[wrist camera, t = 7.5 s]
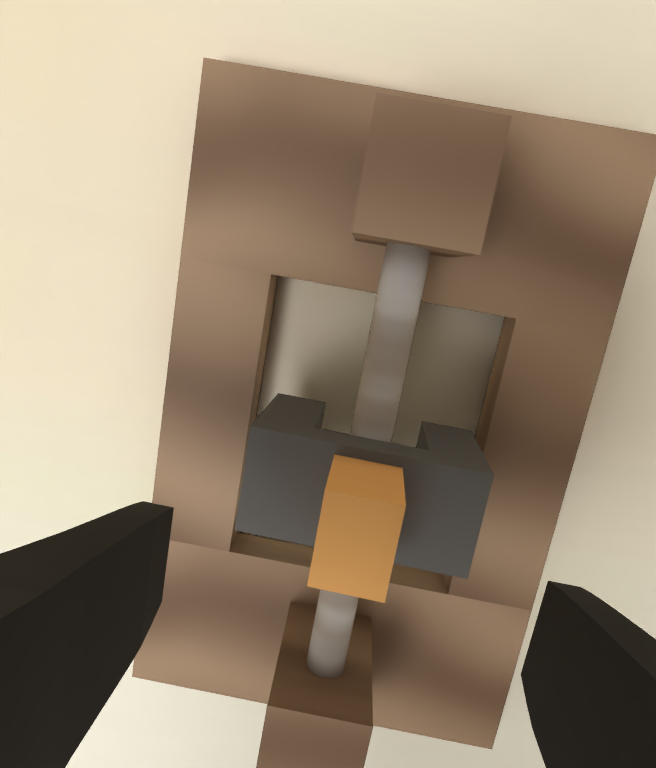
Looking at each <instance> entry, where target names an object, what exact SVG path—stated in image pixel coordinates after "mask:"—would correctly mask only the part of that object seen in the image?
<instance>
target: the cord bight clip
mask: <svg viewBox="0 0 656 768" xmlns="http://www.w3.org/2000/svg"><path fill="white" fill-rule="evenodd" d="M325 404H326V403H325V402H320V401H315V400H310V399H305V398H300V397H295V396H290V395H284V394H279V393H278V394H277V395H276V397H275V398H274V399H273V400H272V401H271V403H270V404H269V405H268V406H267V407H266V408H265V410H264V411H263V412H262V413H261V414H260V416H259V417H258V418H257V419H256V420H255V421H254V423H253V424H252V425H251V426H250V432H249V438H248V445H247V451H246V458H245V465H244V471H243V478H242V485H241V491H240V498H239V504H238V511H237V518H236V524H235V530H236V531H241V532H246V533H251V534H255V535H260V536H265V537H269V538H274V539H279V540H284V541H288V542H293V543H298V544H303V545H307V546H312V547H314V551H313V556H312V562H311V567H310V572H309V578H308V583H307V586H308V587H313V588H317V589H322V590H326V591H331V592H336V593H340V594H345V595H350V596H354V597H359V598H364V599H368V600H373V601H378V602H382V603H385V599H386V595H387V590H388V586H389V581H390V577H391V572H392V568H393V564H398V565H402V566H407V567H412V568H416V569H421V570H426V571H431V572H435V573H440V574H445V575H450V576H454V577H459V578H464V579H468V576H469V572H470V568H471V564H472V560H473V556H474V552H475V548H476V545H477V541H478V537H479V533H480V529H481V525H482V521H483V517H484V513H485V509H486V505H487V501H488V497H489V493H490V489H491V485H492V482H493V478H494V474H493V472H492V470H491V468H490V466H489V464H488V462H487V460H486V458H485V457H484V455H483V453H482V451H481V449H480V447H479V445H478V443H477V441H476V439H475V438H474V436H473V434H472V432H471V431H469V430H464V429H459V428H454V427H448V426H443V425H438V424H433V423H428V422H423V421H422V424H421V429H420V433H419V438H418V442H417V447H416V448H415V447H410V446H405V445H400V444H395V443H390V442H385V441H380V440H375V439H369V438H364V437H359V436H354V435H349V434H344V433H339V432H334V431H329V430H324V429H321V426H322V421H323V415H324V410H325Z"/></svg>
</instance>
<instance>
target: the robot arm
mask: <svg viewBox="0 0 656 768" xmlns="http://www.w3.org/2000/svg"><path fill="white" fill-rule="evenodd" d="M173 511H174V507H169V506H164V505H159V504H154V503H149V502H144V501H143V502H139V503H135V504H132V505H129V506H127V507H124V508H121V509H119V510H116V511H114V512H111V513H109V514H106V515H104V516H101V517H99V518H97V519H94V520H91V521H89V522H86V523H84V524H81V525H79V526H76V527H74V528H71V529H69V530H66V531H64V532H61V533H59V534H56V535H53V536H50V537H47V538H44V539H41V540H39V541H36V542H33V543H30V544H27V545H24V546H22V547H19V548H16V549H13V550H10V551H7V552H4V553H1V554H0V768H65V767H66V765H67V763H68V762H69V760H70V758H71V757H72V755H73V754H74V752H75V750H76V749H77V747H78V746H79V744H80V743H81V741H82V740H83V738H84V736H85V735H86V733H87V732H88V730H89V729H90V727H91V725H92V724H93V722H94V721H95V719H96V718H97V716H98V714H99V713H100V711H101V710H102V708H103V707H104V705H105V704H106V702H107V700H108V699H109V697H110V696H111V694H112V693H113V691H114V689H115V688H116V686H117V685H118V683H119V682H120V680H121V678H122V677H123V675H124V674H125V672H126V670H127V669H128V667H129V666H130V664H131V662H132V661H133V659H134V658H135V656H136V654H137V653H138V651H139V649H140V648H141V646H142V644H143V641H144V639H145V637H146V635H147V633H148V631H149V629H150V627H151V625H152V623H153V620H154V618H155V616H156V614H157V612H158V609H159V607H160V605H161V603H162V597H163V589H164V581H165V573H166V565H167V558H168V550H169V542H170V534H171V526H172V519H173ZM521 677H522V682H523V687H524V692H525V697H526V703H527V707H528V711H529V716H530V720H531V724H532V728H533V731H534V734H535V737H536V740H537V743H538V746H539V749H540V752H541V755H542V758H543V760H544V763H545V766H546V768H656V639H654V638H653V637H652V636H650V635H649V634H648V633H646V632H645V631H644V630H642V629H641V628H640V627H638V626H637V625H636V624H634V623H633V622H631V621H630V620H629V619H627V618H626V617H625V616H623V615H622V614H621V613H619V612H618V611H617V610H615V609H614V608H612V607H611V606H610V605H608V604H607V603H605V602H604V601H602V600H601V599H599V598H598V597H596V596H595V595H593V594H592V593H590V592H588V591H587V590H585V589H583V588H581V587H577V586H572V585H567V584H562V583H557V582H552V581H548V583H547V586H546V590H545V593H544V597H543V600H542V603H541V607H540V610H539V614H538V617H537V621H536V624H535V627H534V631H533V634H532V638H531V641H530V645H529V648H528V651H527V655H526V658H525V662H524V665H523V669H522V672H521Z"/></svg>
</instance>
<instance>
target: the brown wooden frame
mask: <svg viewBox="0 0 656 768" xmlns="http://www.w3.org/2000/svg"><path fill="white" fill-rule="evenodd" d="M655 176H656V135H655V134H649V133H643V132H637V131H631V130H626V129H620V128H614V127H608V126H602V125H596V124H590V123H585V122H579V121H573V120H567V119H561V118H555V117H549V116H543V115H538V114H532V113H526V112H520V111H514V110H508V109H502V108H497V107H491V106H485V105H479V104H473V103H467V102H461V101H455V100H450V99H444V98H438V97H432V96H426V95H420V94H414V93H409V92H403V91H397V90H391V89H385V88H379V87H373V86H367V85H362V84H356V83H350V82H344V81H338V80H332V79H326V78H321V77H315V76H309V75H303V74H297V73H291V72H285V71H279V70H274V69H268V68H262V67H256V66H250V65H244V64H238V63H233V62H227V61H221V60H215V59H209V58H204V59H203V67H202V76H201V85H200V93H199V102H198V111H197V119H196V128H195V137H194V145H193V154H192V163H191V171H190V180H189V189H188V197H187V206H186V215H185V223H184V232H183V241H182V249H181V258H180V267H179V275H178V284H177V293H176V301H175V310H174V319H173V327H172V336H171V345H170V353H169V362H168V371H167V379H166V388H165V397H164V405H163V414H162V423H161V431H160V440H159V449H158V457H157V466H156V475H155V483H154V492H153V501H152V503H154V504H159V505H164V506H169V507H174V511H173V519H172V526H171V534H170V542H169V550H168V558H167V565H166V573H165V581H164V589H163V597H162V603H161V605H160V607H159V609H158V612H157V614H156V616H155V618H154V620H153V623H152V625H151V627H150V629H149V631H148V633H147V635H146V637H145V639H144V641H143V644H142V646H141V648H140V649H139V651H138V653H137V654H136V656H135V658H134V665H133V674H132V677H137V678H142V679H147V680H152V681H157V682H161V683H166V684H171V685H176V686H181V687H186V688H191V689H196V690H201V691H206V692H211V693H216V694H221V695H226V696H231V697H236V698H241V699H246V700H251V701H255V702H260V703H265V704H268V705H267V710H266V716H265V721H264V727H263V732H262V738H261V744H260V749H259V755H258V761H257V766H256V768H364V764H365V759H366V755H367V751H368V746H369V742H370V737H371V733H372V729H373V725H374V726H379V727H384V728H389V729H394V730H399V731H404V732H409V733H414V734H419V735H424V736H429V737H434V738H439V739H444V740H448V741H453V742H458V743H463V744H468V745H473V746H478V747H483V748H488V749H492V747H493V744H494V740H495V737H496V733H497V730H498V726H499V723H500V719H501V716H502V712H503V709H504V705H505V702H506V698H507V695H508V691H509V688H510V684H511V681H512V677H513V674H514V670H515V667H516V663H517V660H518V656H519V652H520V649H521V645H522V642H523V638H524V635H525V631H526V628H527V624H528V621H529V617H530V614H531V610H532V607H533V603H534V600H535V596H536V593H537V589H538V586H539V582H540V579H541V575H542V572H543V568H544V565H545V561H546V558H547V554H548V551H549V547H550V544H551V540H552V537H553V533H554V530H555V526H556V523H557V519H558V516H559V512H560V509H561V505H562V502H563V498H564V495H565V491H566V488H567V484H568V481H569V477H570V474H571V470H572V467H573V463H574V460H575V456H576V453H577V449H578V446H579V442H580V439H581V435H582V432H583V428H584V425H585V421H586V418H587V414H588V410H589V407H590V403H591V400H592V396H593V393H594V389H595V386H596V382H597V379H598V375H599V372H600V368H601V365H602V361H603V358H604V354H605V351H606V347H607V344H608V340H609V337H610V333H611V330H612V326H613V323H614V319H615V316H616V312H617V309H618V305H619V302H620V298H621V295H622V291H623V288H624V284H625V281H626V277H627V274H628V270H629V267H630V263H631V260H632V256H633V253H634V249H635V246H636V242H637V239H638V235H639V232H640V228H641V225H642V221H643V218H644V214H645V211H646V207H647V204H648V200H649V197H650V193H651V190H652V186H653V183H654V179H655ZM278 276H283V277H289V278H294V279H300V280H305V281H311V282H316V283H322V284H328V285H333V286H339V287H344V288H350V289H355V290H361V291H366V292H372V293H377V296H376V301H375V306H374V312H373V317H372V322H371V327H370V333H369V338H368V343H367V348H366V353H365V359H364V364H363V369H362V374H361V379H360V385H359V390H358V395H357V400H356V406H355V411H354V416H353V421H352V426H351V432H350V435H354V436H359V437H364V438H369V439H375V440H380V441H385V442H390V443H391V441H392V437H393V432H394V427H395V422H396V417H397V413H398V408H399V403H400V398H401V394H402V389H403V384H404V379H405V374H406V370H407V365H408V360H409V355H410V350H411V346H412V341H413V336H414V331H415V327H416V322H417V317H418V312H419V307H420V303H421V301H422V302H427V303H433V304H438V305H444V306H449V307H455V308H460V309H466V310H471V311H477V312H483V313H488V314H494V315H499V316H505V317H504V321H503V325H502V329H501V333H500V338H499V342H498V346H497V350H496V354H495V358H494V362H493V366H492V371H491V375H490V379H489V383H488V387H487V391H486V395H485V399H484V404H483V408H482V412H481V416H480V420H479V424H478V428H477V432H476V437H475V439H476V441H477V443H478V445H479V447H480V449H481V451H482V453H483V455H484V457H485V458H486V460H487V462H488V464H489V466H490V468H491V470H492V472H493V474H494V478H493V482H492V485H491V489H490V493H489V497H488V501H487V505H486V509H485V513H484V517H483V521H482V525H481V529H480V533H479V537H478V541H477V545H476V548H475V552H474V556H473V560H472V564H471V568H470V572H469V576H468V579H464V578H459V577H454V576H450V575H445V574H440V573H435V572H431V571H426V570H421V569H416V568H412V567H407V566H402V565H398V564H393V568H392V572H391V577H390V581H389V586H388V590H387V595H386V599H385V603H382V602H378V601H373V600H368V599H364V598H359V597H354V596H350V595H345V594H340V593H336V592H331V591H326V590H322V589H317V588H313V587H308V586H307V583H308V578H309V572H310V567H311V562H312V556H313V551H314V547H310V546H305V545H300V544H295V543H290V542H284V541H279V540H274V539H269V538H264V537H259V536H254V535H248V534H243V533H238V532H239V531H236V530H235V524H236V518H237V511H238V504H239V498H240V491H241V485H242V478H243V471H244V465H245V458H246V451H247V445H248V438H249V432H250V426H251V425H252V424H253V423H254V421H255V420H256V414H257V408H258V401H259V395H260V388H261V382H262V375H263V369H264V362H265V356H266V349H267V342H268V336H269V329H270V323H271V316H272V310H273V303H274V297H275V290H276V284H277V277H278Z"/></svg>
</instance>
